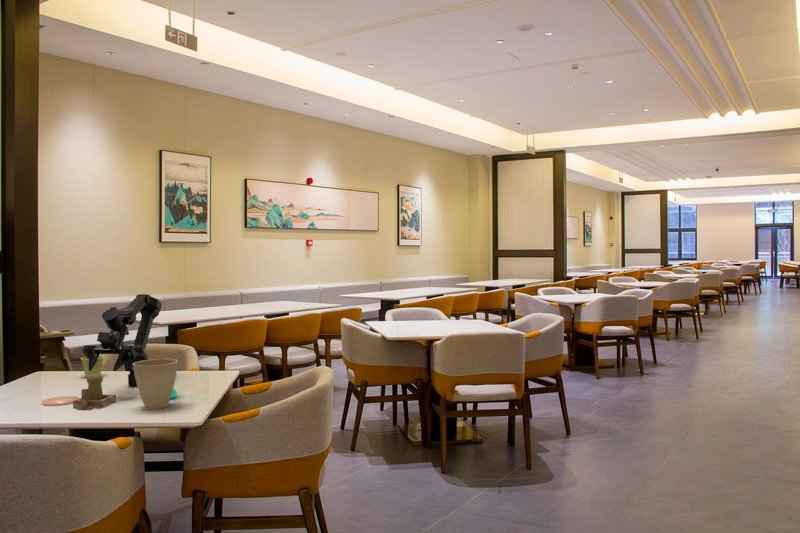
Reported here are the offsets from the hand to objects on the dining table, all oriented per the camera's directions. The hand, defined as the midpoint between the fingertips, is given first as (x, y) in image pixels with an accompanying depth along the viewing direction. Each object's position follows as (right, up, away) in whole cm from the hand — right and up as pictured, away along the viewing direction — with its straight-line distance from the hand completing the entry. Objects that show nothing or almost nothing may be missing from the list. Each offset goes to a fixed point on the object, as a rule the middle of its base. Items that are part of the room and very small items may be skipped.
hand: (101, 370), depth 230 cm
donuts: (+20, -11, +6) cm, 24 cm away
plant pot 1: (-27, -11, +49) cm, 57 cm away
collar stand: (0, -11, -6) cm, 13 cm away
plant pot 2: (+23, -12, -8) cm, 27 cm away
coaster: (-15, -11, 0) cm, 19 cm away
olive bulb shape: (0, -12, -5) cm, 13 cm away
